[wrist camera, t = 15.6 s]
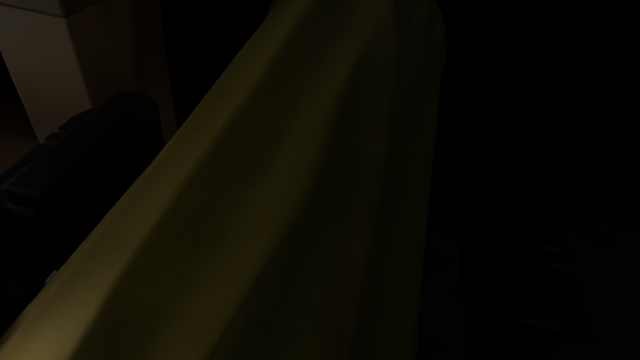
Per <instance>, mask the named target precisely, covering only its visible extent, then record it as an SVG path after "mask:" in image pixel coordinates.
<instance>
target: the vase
mask: <svg viewBox="0 0 640 360" xmlns="http://www.w3.org/2000/svg"><path fill="white" fill-rule="evenodd" d="M446 59H447V37H446V30H445V24H444V21H443V18H442V14H441V12H440V9H439V7H438V5H437V3H436V1H435V0H274V1H273V3H272V4H271V6H270V8H269V11H268V13H267V15H266V17H265V19H264V21H263V22H262V24H261V25H260V27H259V29H258V30H257V31H256V32H255V34H254V35H253V36H252V37H251V38H250V39H249V41H248V42H247V43H246V44H245V45H244V46H243V48H242V49H241V50H240V51H239V53H238V54H237V55H236V57H235V58H234V59H233V60H232V62H231V63H230V64H229V66H228V67H227V68H226V70H225V71H224V72H223V74H222V75H221V77H220V78H219V79H218V80H217V81H216V83H215V84H214V85H213V87H212V88H211V89H210V90H209V92H208V93H207V94H206V96H205V97H204V98H203V100H202V101H201V102H200V103H199V105H198V106H197V107H196V109H195V110H194V111H193V112H192V114H191V115H190V116H189V118H188V119H187V120H186V121H185V123H184V124H183V125H182V127H181V128H180V129H179V130H178V131H177V133H176V134H175V135H174V136H173V137H172V139H171V140H170V141H169V142H168V143H167V145H166V146H165V147H164V148H163V149H162V151H161V152H160V153H159V154H158V155H157V157H156V158H155V159H154V160H153V162H152V163H151V164H150V165H149V166H148V167H147V168H146V170H145V171H144V172H143V173H142V174H141V175H140V176H139V178H138V179H137V180H136V181H135V182H134V183H133V184H132V185H131V187H130V188H129V189H128V190H127V191H126V192H125V194H124V195H123V196H122V197H121V198H120V199H119V201H118V202H117V203H116V204H115V205H114V206H113V208H112V209H111V210H110V211H109V212H108V213H107V215H106V216H105V217H104V218H103V219H102V221H101V222H100V223H99V224H98V225H97V226H96V228H95V229H94V230H93V231H92V232H91V233H90V235H89V236H88V237H87V238H86V239H85V240H84V241H83V243H82V244H81V245H80V246H79V247H78V248H77V250H76V251H75V252H74V253H73V254H72V255H71V257H70V258H69V259H68V260H67V261H66V262H65V263H64V265H63V266H62V267H61V268H60V269H59V270H58V272H57V273H56V274H55V275H54V276H53V278H52V279H51V280H50V281H49V282H48V283H47V284H46V286H45V287H44V288H43V289H42V290H41V291H40V292H39V294H38V295H37V296H36V297H35V298H34V299H33V300H32V302H31V303H30V304H29V305H28V306H27V307H26V308H25V309H24V311H23V312H22V313H21V314H20V315H19V316H18V317H17V318H16V320H15V321H14V322H13V323H12V324H11V325H10V326H9V327H8V329H7V330H6V331H5V332H4V333H3V334H2V335H1V336H0V360H417V344H418V322H419V307H420V296H421V284H422V272H423V260H424V249H425V238H426V227H427V216H428V205H429V195H430V185H431V176H432V167H433V158H434V149H435V141H436V134H437V123H438V105H439V94H440V82H441V75H442V73H443V70H444V67H445V63H446Z"/></svg>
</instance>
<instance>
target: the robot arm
mask: <svg viewBox="0 0 640 360" xmlns="http://www.w3.org/2000/svg"><path fill="white" fill-rule="evenodd" d="M164 147H165V143H164V137H163V131H162V126H161V120H160V114H159V108H158V104H157V102H156V100H155V99H154V98H152V97H149V96H144V95H140V94H135V93H131V92H126V91H118V92H116V93H115V94H113V95H112V96H111V97H110V98H108V99H107V100H106V101H105V102H104V103H102V104H101V105H100V106H99V107H97V106H95V107H93V108H90V109H88V110H86V111H83V112H81V113H79V114H76V115H74V116H72V117H71V118H70V119H68V120H67V121H66V122H65V123H63V124H62V125H61V126H59V127H58V128H57V129H56V132H52V133H51V134H49V135H48V136H47V137H46V138H44V139H43V140H42V143H38V144H37V145H35V146H34V147H33V148H32V149H30V150H29V151H28V152H27V153H25V154H24V155H23V156H21V157H20V158H19V159H18V160H16V161H15V162H14V163H13V164H11V165H10V166H9V167H8V168H6V169H5V170H4V171H2V172H1V173H0V336H1V335H2V334H3V333H4V332H5V331H6V330H7V329H8V327H9V326H10V325H11V324H12V323H13V322H14V321H15V320H16V318H17V317H18V316H19V315H20V314H21V313H22V312H23V311H24V309H25V308H26V307H27V306H28V305H29V304H30V303H31V302H32V300H33V299H34V298H35V297H36V296H37V295H38V294H39V292H40V291H41V290H42V289H43V288H44V287H45V286H46V284H47V282H46V279H47V278H48V277H49V276H50V275H51V274H52V272H53V271H54V270H56V271H58V270H59V269H60V268H61V267H62V266H63V265H64V263H65V262H66V261H67V260H68V259H69V258H70V257H71V255H72V254H73V253H74V252H75V251H76V250H77V248H78V247H79V246H80V245H81V244H82V243H83V241H84V240H85V239H86V238H87V237H88V236H89V235H90V233H91V232H92V231H93V230H94V229H95V228H96V226H97V225H98V224H99V223H100V222H101V221H102V219H103V218H104V217H105V216H106V215H107V213H108V212H109V211H110V210H111V209H112V208H113V206H114V205H115V204H116V203H117V202H118V201H119V199H120V198H121V197H122V196H123V195H124V194H125V192H126V191H127V190H128V189H129V188H130V187H131V185H132V184H133V183H134V182H135V181H136V180H137V179H138V178H139V176H140V175H141V174H142V173H143V172H144V171H145V170H146V168H147V167H148V166H149V165H150V164H151V163H152V162H153V160H154V159H155V158H156V157H157V155H158V154H159V153H160V152H161V151H162V149H163V148H164ZM460 258H461V278H462V298H463V317H464V337H465V357H466V360H618V359H617V358H615V357H614V356H613V355H612V354H611V353H610V352H608V351H607V350H605V349H604V348H602V347H601V346H599V345H598V343H597V340H596V337H595V333H594V330H593V327H592V324H591V320H590V317H589V314H588V311H587V307H586V304H585V301H584V298H583V294H582V291H581V288H580V285H579V281H578V278H577V275H576V274H575V273H574V270H575V268H574V265H573V262H572V259H571V256H569V249H568V246H567V242H566V239H565V236H564V233H563V230H562V229H561V228H560V226H559V225H558V224H557V223H556V221H555V220H554V219H553V217H552V216H551V215H550V213H549V212H548V211H546V210H541V209H537V208H536V206H535V202H534V198H533V194H532V190H531V187H530V185H529V183H527V182H523V181H519V180H514V179H510V178H505V177H501V176H496V175H491V176H490V177H489V178H488V179H487V181H486V183H485V185H484V186H483V188H482V190H481V192H480V194H479V196H478V198H477V200H476V202H475V204H474V206H473V208H472V209H471V211H470V213H469V215H468V217H467V219H466V221H465V224H464V226H463V230H462V234H461V239H460Z"/></svg>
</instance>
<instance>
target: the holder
mask: <svg viewBox="0 0 640 360" xmlns="http://www.w3.org/2000/svg"><path fill="white" fill-rule="evenodd" d="M0 51H1V53H2V56H3V58H4V60H5V63H6V65H7V67H8V70H9V72H10V74H11V77H12V79H13V82H14V84H15V86H16V89H17V91H18V93H19V96H20V98H21V100H22V102H20V101H16V100H12V99H8V98H4V97H0V173H1V172H2V171H4V170H5V169H6V168H8V167H9V166H10V165H11V164H13V163H14V162H15V161H16V160H18V159H19V158H20V157H21V156H23V155H24V154H25V153H27V152H28V151H29V150H30V149H32V148H33V147H34V146H35V145H37V144H38V143H42V140H43V139H44V138H46V137H47V136H48V135H49V134H51V133H52V132H56V129H57V128H58V127H59V126H61V125H62V124H63V123H65V122H66V121H67V120H68V119H70V118H71V117H72V116H74V115H76V114H79V113H81V112H83V111H86V110H88V109H90V108H93V107H95V106H97V107H99V106H100V105H101V104H102V103H104V102H105V101H106V100H107V99H108V98H110V97H111V96H112V95H113V94H115V93H116V92H118V91H126V92H131V93H135V94H140V95H144V96H149V97H152V98H154V99H155V100H156V102H157V104H158V108H159V114H160V120H161V126H162V131H163V137H164V143H165V146H166V145H167V143H168V142H169V141H170V140H171V139H172V137H173V136H174V135H175V134H176V133H177V123H176V116H175V109H174V102H173V95H172V88H171V81H170V73H169V66H168V59H167V52H166V45H165V38H164V31H163V23H162V16H161V9H160V2H159V0H0Z"/></svg>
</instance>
